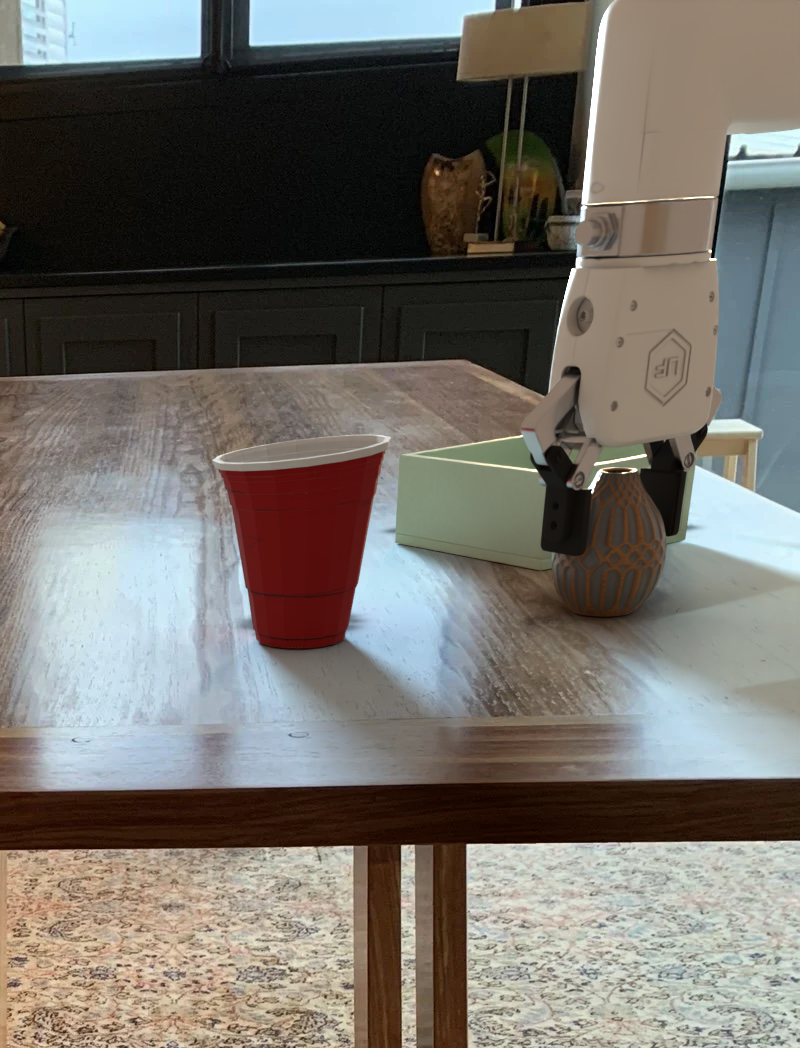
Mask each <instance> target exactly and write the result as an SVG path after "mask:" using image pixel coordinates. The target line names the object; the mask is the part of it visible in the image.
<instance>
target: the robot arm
mask: <svg viewBox="0 0 800 1048" xmlns="http://www.w3.org/2000/svg"><path fill="white" fill-rule="evenodd" d="M596 43H597V46H596V54H595V65H594V74H593V75H594V76H593V85H592V96H591V103H590V104H591V105H590V114H589V124H588V134H587V135H588V136H587V143H586V144H587V146H586V156H585V157H586V158H585V167H584V176H583V187H582V197H581V205H582V206H581V207H580V216H579V223H578V225H577V226H576V227H575V231H574V232H575V233H574V237H575V239H574V240H575V242H576V243H577V246H576V247H577V248H576V258H575V267H573V268H571V271H570V275H569V279H568V282H567V286H566V290H565V294H564V299H563V302H562V306H561V311H560V316H559V321H558V325H557V329H556V336H555V341H554V342H555V343H554V348H553V354H552V361H551V368H550V376H549V385H548V392H547V394H546V395H545V396H544V397H543V398H542V399H541V400H540V401H539V402H538V404H536V406H535V407H534V408H533V409H532V410H531V411H530V412H529V414H528V415H527V416H526V417H525V418H524V419H523V420H522V422H521V424H520V433H521V435H522V436H523V438H524V440H525V443H526V445H527V447H528V450H529V452H531V454H530V460H531V462H532V464H533V465H534V467H535V468H536V470H537V471H538V473H539V483H540V484H541V485H542V486H546V492H545V503H544V513H543V524H542V534H541V548H542V550H544V551H548V552H553V553H559V554H565V555H570V556H579V555H582V554H583V553H584V552H585V550H586V544H587V535H588V526H589V517H590V508H591V499H592V489H588V488H583V487H584V485H585V483H586V481H587V479H588V477H589V475H590V473H591V471H592V469H593V467H594V465H595V463H596V461H597V459H598V457H599V455H600V453H601V451H602V449H603V447H604V446H605V447H613V448H615V447H624V446H631V445H637V444H643V447H644V450H645V453H646V456H647V459H648V463H649V465H650V466H651V467H643V468H641V470H640V479H641V482H642V484H643V487H644V488H645V490H646V492H647V493H648V495H649V496H650V498H651V499H652V501H653V502H654V504H655V505H656V507H657V509H658V510H659V512H660V514H661V516H662V519H663V523H664V527H665V533H666V536H667V537H669V536H674V535H676V534H677V533H678V532H679V526H680V519H681V512H682V504H683V497H684V489H685V482H686V475H687V471H684V470H690V469H691V468H692V467H693V466H694V464H695V460H696V461H697V458H696V455H695V452H696V450H697V449H698V450H699V448H700V446H701V445H702V444H703V442H704V441H705V439H706V438H707V435H708V431H709V426H710V425H711V423H712V421H713V419H714V417H715V416H716V414H717V412H718V411H719V409H720V407H721V405H722V402H723V394H722V392H721V391H720V390H719V388H717V386H716V385H715V378H716V377H715V376H716V366H717V356H718V355H717V354H718V340H719V338H718V337H719V323H720V322H719V320H720V289H719V272H718V271H719V270H718V261H717V258H711V257H712V250H713V249H712V248H713V241H714V234H715V226H716V220H717V211H718V205H719V195H720V188H721V180H722V173H723V166H724V157H725V151H726V143H727V136H731V135H741V134H742V135H756V134H757V135H758V134H768V133H776V132H777V133H779V132H787V131H793V130H800V0H613V1H612V2H610V4H609V5H608V7H607V8H606V10H605V11H604V14H603V16H602V18H601V21H600V24H599V31H598V38H597V42H596ZM572 450H578V451H579V453H578V455H577V457H576V459H575V461H574V463H572V461H571V460H570V458H569V456H570V454H571V452H572Z"/></svg>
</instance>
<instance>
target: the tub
mask: <svg viewBox="0 0 800 1048" xmlns="http://www.w3.org/2000/svg"><path fill="white" fill-rule="evenodd" d="M698 451H699V448H698V449H697V450H696V452H695V455H696V460H695V464H694V466H693V467H692V468H691V469H690V470H684V471H687V475H686V482H685V489H684V497H683V504H682V512H681V519H680V526H679V532H678V533H677V534H676V535H674V536H669V537H667V536H666V545H667V544H672V543H677V542H682V541H685V540H686V538H687V529H688V522H689V516H690V508H691V501H692V493H693V487H694V479H695V473H696V472H695V471H696V466H697V465H696V464H697V459H698V458H697V457H698ZM578 453H579V451H578V450H572V452H571V454H570V456H569V458H570V460H571V461H572V463H574V461H575V459H576V457H577V455H578ZM530 454H531V452H529V450H528V447H527V445H526V443H525V440H524V438H523V436H522V434H521V435H515V436H509V437H502V438H501V437H500V438H495V439H490V440H482V441H478V442H471V443H470V442H469V443H465V444H458V445H452V446H447V447H440V448H433V449H427V450H420V451H414V452H410V453H409V452H408V453H403V454H399V456H398V475H397V491H396V492H397V496H396V514H395V531H394V532H395V535H394V543H395V544H399V545H404V546H409V547H415V548H419V549H424V550H425V549H426V550H430V551H435V552H441V553H446V554H452V555H456V556H462V557H466V558H467V557H468V558H472V559H476V560H482V561H488V562H493V563H499V564H504V565H508V566H513V567H519V568H525V569H530V570H535V571H538V572H539V571H546V570H550V569H551V570H552V554H553V552H548V551H544V550H542V548H541V534H542V524H543V513H544V503H545V492H546V486H542V485H541V484H540V483H539V473H538V471H537V470H536V468H535V467H534V465H533V464H532V462H531V460H530ZM643 467H651V466H650V465H649V463H648V459H647V456H646V453H645V450H644V447H643V444H637V445H631V446H624V447H615V448H613V447H605V446H604V447H603V449H602V451H601V453H600V455H599V457H598V459H597V461H596V463H595V465H594V467H593V469H592V471H591V473H590V475H589V477H588V479H587V481H586V483H585V485H584V487H583V488H589V487H590V485H591V483H592V482H593V480H594V478H595V476H596V474H597V472H598V471H599V470H601V469H605V468H633V469H636V470H638V472H639V475H640V470H641V468H643Z"/></svg>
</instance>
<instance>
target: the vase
mask: <svg viewBox="0 0 800 1048" xmlns="http://www.w3.org/2000/svg"><path fill="white" fill-rule="evenodd" d="M588 489H592V499H591V508H590V517H589V526H588V535H587V544H586V550H585V552H584V553H583V554H582V555H579V556H570V555H565V554H559V553H553V554H552V568H551V573H552V580H553V585H554V587H555V591H556V593H557V596H559V598H560V600H561V602H562V603H563V604H564V605H565V606H566V607H567V608H568V609H569V610H570V611H571V612H572V613H574V614H578V615H582V616H586V617H587V616H588V617H598V618H599V617H600V618H601V617H602V618H611V617H621V616H626V615H629V614H632V613H635V611H637V609H639V608H640V607H641V606H642V605H643V604H644V603H646V601H647V600H648V599H649V598H650V597H651V596H652V594H653V593H654V591H655V590H656V588H657V585H658V584H659V581H660V579H661V576H662V574H663V570H664V566H665V563H666V562H665V561H666V555H667V544H666V533H665V527H664V523H663V519H662V516H661V514H660V512H659V510H658V509H657V507H656V505H655V504H654V502H653V501H652V499H651V498H650V496H649V495H648V493H647V492H646V490H645V488H644V487H643V484H642V482H641V479H640V475H639V472H638V470H636V469H633V468H605V469H601V470H599V471H598V472H597V474H596V476H595V478H594V480H593V482H592V483H591V485H590V487H589V488H588Z"/></svg>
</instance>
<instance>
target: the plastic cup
mask: <svg viewBox="0 0 800 1048" xmlns="http://www.w3.org/2000/svg"><path fill="white" fill-rule="evenodd" d="M391 442H392V437H391V436H387V435H383V434H347V435H331V436H320V437H312V438H304V439H303V438H302V439H293V440H287V441H281V442H273V443H268V444H267V443H266V444H261V445H256V446H251V447H247V448H242V449H237V450H233V451H230V452H226V453H223V454H220V455H217V456H215V458H213V459H212V460H211V462H212V464H213V467H214V468H216V469H218V473H220V477H221V479H222V480H223V485H224V489H225V490H226V491H227V496H228V497H227V498H228V501H229V505H230V506H231V508H232V509H231V511H232V515H233V521H234V522H233V523H234V528H235V534H236V540H237V546H238V551H239V557H240V564H241V568H242V569H241V570H242V575H243V581H244V587H245V589H246V590H247V595H248V605H249V609H250V610H249V611H250V616H251V617H250V618H251V623H252V630H254V633H255V639H256V641H258V643H259V644H261V645H265V646H268V647H272V648H273V647H274V648H281V649H301V650H302V649H314V648H322V647H327V646H332V645H336V644H338V643H340V642H342V641H344V639H345V636H346V633H347V630H348V627H349V626H350V619H351V615H352V609H353V604H354V598H355V593H356V588H357V586H358V584H359V579H360V574H361V570H362V563H363V558H364V554H365V549H366V542H367V536H368V531H369V527H370V526H369V525H370V520H371V515H372V510H373V505H374V504H373V503H374V498H375V495H376V494H377V488H378V484H379V483H378V482H379V476H380V475H381V470H382V464H383V461H384V458H385V456H384V455H385V454H386V451H388V449H389V448H390V446H391Z"/></svg>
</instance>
